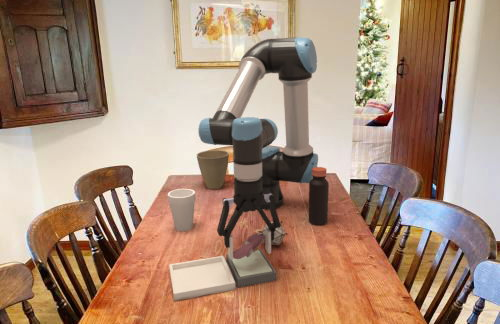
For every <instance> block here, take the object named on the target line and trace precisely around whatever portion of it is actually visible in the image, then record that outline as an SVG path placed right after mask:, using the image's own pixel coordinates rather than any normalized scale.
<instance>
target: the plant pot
mask: <svg viewBox="0 0 500 324" xmlns="http://www.w3.org/2000/svg"><path fill="white" fill-rule="evenodd" d="M229 157H230V153H229V151H226V150H223V149H219V150H218V149H213V150H205V151H201V152H198V153H197V154H196V159H197V165H198V168H199V171H200V174H201V176H202V177H201V178H202V179H203V181H204V184H205V186H206V188H207V189H209V190H217V189H221V188H222V187H223V186H224V182H225V180H226V175H227V172H228V165H229Z"/></svg>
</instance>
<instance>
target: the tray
mask: <svg viewBox="0 0 500 324" xmlns="http://www.w3.org/2000/svg"><path fill="white" fill-rule="evenodd" d="M168 267H169V275H170V281H171V287H172V288H171V289H172V294H173V302H176V301H177V302H178V301H182V300H188V299H192V298H197V297H202V296H208V295H213V294H218V293H224V292H229V291H235V290H236V288H237V286H236V282H235V280H234V278H233V275H232V273H231V271H230V269H229V266H228V264H227V261H226V259H225V257H224V255H219V256H213V257H206V258H201V259H195V260H194V259H193V260H187V261H182V262H176V263H170V264H168Z"/></svg>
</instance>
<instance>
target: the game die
mask: <svg viewBox="0 0 500 324" xmlns="http://www.w3.org/2000/svg"><path fill="white" fill-rule="evenodd" d="M270 222H271V223H273V221H271V220H270ZM280 224H281V227H280V228H276V230H275V232H274V240H273V241H271V245H277V246H278V248H281V243H282V241H283V239H284V238H285V236H288V233H287V232H285V229H284V227H283V220H281V221H280ZM265 228H268V226H267V224H266V223H265V225H264V227H263V228H262V230H261V231H260V230H259V231H258V233H259V234H262V235H264V236H265ZM264 241H265V239H264ZM264 246H265V243H264Z"/></svg>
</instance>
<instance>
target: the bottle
mask: <svg viewBox="0 0 500 324" xmlns="http://www.w3.org/2000/svg"><path fill="white" fill-rule="evenodd" d="M312 176H313V179H312V180H311V181H310V182H309V183H308V222H309V224H311V225H314V226H324V225H326V224H328V220H329V219H328V215H329V214H328V213H329V211H328V210H329V189H330V188H329V187H330V184H329V181H328V180H327V179H326V177H327V168H326V167H323V166H317V167H314V168H312Z"/></svg>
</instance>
